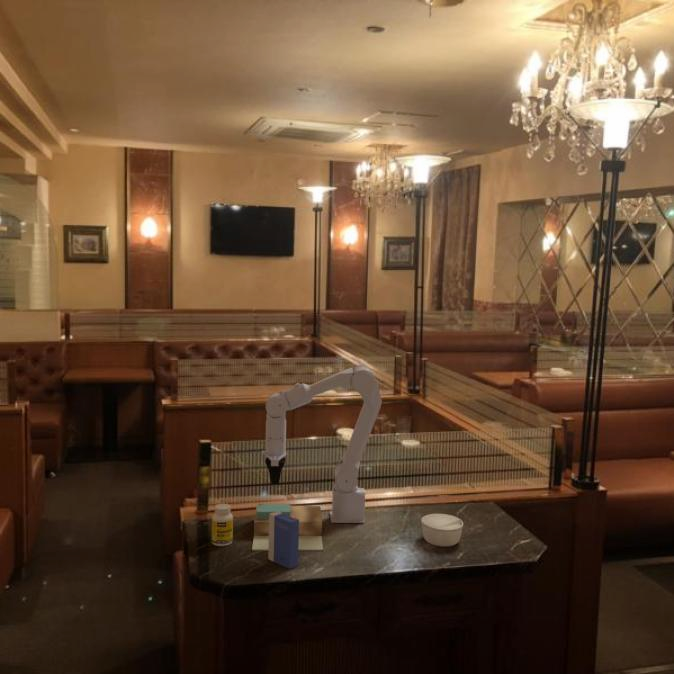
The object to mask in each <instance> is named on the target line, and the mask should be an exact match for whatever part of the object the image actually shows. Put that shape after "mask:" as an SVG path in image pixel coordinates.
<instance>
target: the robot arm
mask: <svg viewBox="0 0 674 674" xmlns="http://www.w3.org/2000/svg"><path fill="white" fill-rule="evenodd" d="M351 386H352V387H353V389H354V390H355V391H356V392H357V393H358V394H359V395H360V397H361V399H362V400H363V404H362V407H361V409H360V412H359V416H358V418H357V420H356V423H355V426H354V428H353V430H352V431H353V432H352V434H351V435H350V439H349V440H348V441H349V442H348V444H347V447H346V449H345V452H344V453H343V455H342V457H341V459H340V461H339V462H338V463H337V464H336V465H335V466H334V469H333V474H334V483H333V484H332V497H331V500H332V501H331V503H332V504H331V510H330V511H329V516H330V523H331V524H333V523H334V524H338V523H340V524H364V523H365V514H366V492H365V491H366V490H365V488H364V487H359V486H358V472H359V470H360V465H361V461H362V457H363V454H364V452H365V449H366V447H367V444H368V441H369V439H370V436H371V433H372V430H373V429H374V425H375V422H376V421H377V418H378V415H379V412H380V410H381V407H382V403H383V401H382V396H381V391H380V388H379V383H378V381H377V378H376V377H375V375H374V373H373V372H372V371H371V369H370V368H369V367H368V366H366V365H365V364H364V365H363V364H358V365H356V366H354V367H349V368H346V369H344V370H340V371H339V372H336V373H334V374H331V375H329V376H327V377H325V378H323V379H321V380H319V381H316V382H314V383H312V384H306V383H300V382H297V383H295V384H294V386H293V387H290V388H289V389H285V390H283V389H282V390H279V391H278V393H272V394H271V395H270V396H269V397H268V398H267V400H266V403H265V411H266V412H267V413H266V415H265V416H266V421H265V450H261V452H260V454H261V455H262V456H266V457H265V461H264V463H265V465H266V467H267V470H268V474H269V480H270V483H271V485H279V484H280V480H281V474H282V471H283V467H284V466H285V464H286V456H287V447H286V446H287V419H286V414H287V411H292V410H295V409H296V408H300V407H302V406H305V405H306V404H307V405H308V404H310V403H311V402H312V400H313V397H315V396H318V395H320V394H323V393H326V392H329V391H332V390H334V389H337V388H344V389H349V390H351ZM261 455H260V456H261Z"/></svg>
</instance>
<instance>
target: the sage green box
mask: <svg viewBox="0 0 674 674" xmlns="http://www.w3.org/2000/svg"><path fill="white" fill-rule="evenodd" d="M257 506H258V507H257ZM257 506H256V508H257V519H269V514H270V513H273V512H277V511H278V512H281V513H284V514H286V515H289V516H290V507H291V506H292V505H291V503H257Z"/></svg>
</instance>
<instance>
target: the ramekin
mask: <svg viewBox="0 0 674 674" xmlns="http://www.w3.org/2000/svg"><path fill="white" fill-rule="evenodd" d="M420 524H421V528H422V536H423V538H424V540H425V542H427V543H428V544H430V545H433V546H437V547H445V548H447V547H452V546H453V547H454V546H455V545H456V544H458V543H459V542H460V540H461V535H462V530H463V529H464V522H463V520H462V519H460V518H458V517H457V516H456V515H455V516H454V515H451V514H445V513H431V514H426V515H424V516H422V517H421V519H420Z"/></svg>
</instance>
